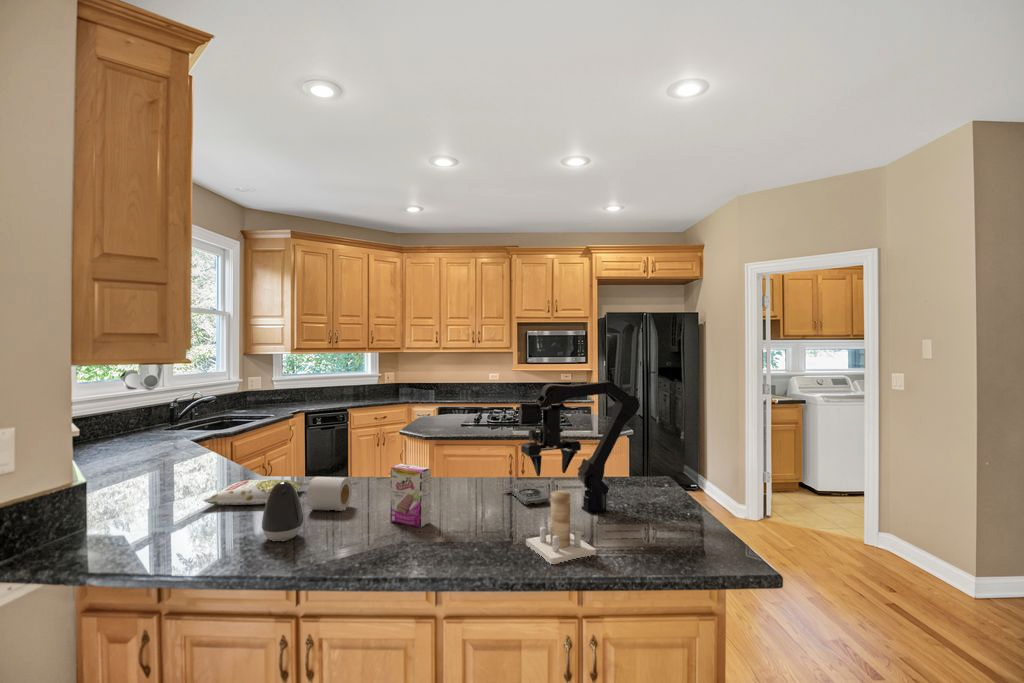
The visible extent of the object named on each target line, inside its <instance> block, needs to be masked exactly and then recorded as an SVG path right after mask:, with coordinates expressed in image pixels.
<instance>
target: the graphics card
mask: <svg viewBox="0 0 1024 683" xmlns="http://www.w3.org/2000/svg"><path fill="white" fill-rule="evenodd" d="M534 484H535V483H534V482H522V483H516V484H515V483H514V484H506V485H504V486H502V490H504V491H502V495H505V494H504V493H513V495H514V496H516V497H515V498H516V499H518V501H520V502H521V503H522V504H523V503H525V504H524V505H531V504H530V503H535V504H542V503H541V502H550V497H549V496H548V495H547V494H545V493H544V492H543V491H541V489H540V488H538V487H537V486H535V485H534ZM507 487H508V488H507Z"/></svg>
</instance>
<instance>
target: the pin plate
mask: <svg viewBox="0 0 1024 683" xmlns="http://www.w3.org/2000/svg"><path fill="white" fill-rule="evenodd" d="M581 537H582V533H581V531H574V534H573V533H571V532H570V546H568V547H566V548H559V536H553V546H552V545H551V533H550V534H547V527H545V526H540V527H539V536H536V537H535V536H534V537H529V538H525V545H526V546H527V547H528V548H529V547H530V548H529V549H530V550H532V551H533V550H534V551H535V552H534V551H533V552H534V553H535V554H537V553H538V554H539V555H540V556H539V555H538V554H537V555H538V556H539V557H541V556H542V557H543V558H544V559H545V562H547V563H548V562H549V563H550V565H551V564H553V565H556V564H560V562H562V563H565V562H564V561H566V562H569V561H568V560H571V559H576V558H580V557H585V556H586V557H585V558H588V557H587V556H589V557H592V556H591V555H594V556H596V555H597V552H596V550H597V549H596V548H595V547H593V546H592V545H590V544H588V543H587V542H586V541H584V540H582V539H581ZM542 557H541V558H542ZM543 558H542V559H543ZM544 559H543V560H544ZM580 559H581V558H580ZM576 560H577V559H576ZM571 561H572V560H571ZM549 563H548V564H549Z"/></svg>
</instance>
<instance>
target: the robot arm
mask: <svg viewBox="0 0 1024 683" xmlns="http://www.w3.org/2000/svg"><path fill="white" fill-rule="evenodd" d="M598 395H606V396H607V397H608V399H610V400H611V401H612V402H613V403H614V404H613V406H612V414H611V419H610V421H609V422H608V424H607V426H606V429H605V430H604V432H603V435H602V436H601V438H600V440H599V442H598V444H597V446H596V448H595V450H594V452H593V454H592V455H591V456H590V458H588V459H586V458H583V459H582V461H581V465H580V466H579V467H578V468H577V470H578V472H577V477H578V480H579V481H580V483H581V484H582V485H583V487H584V488H585V489H586V490H584V495H583V506H581V509H582V510H584V511H585V512H587V513H589V514H591V515H596V514H597V515H598V514H602V513H604V514H605V513H609V512H610V509H609V508H607V495H608V492H609V490H610V488H609V486H608V485H607V484H606V483H605V482H604V481H603V479H604V476H605V468H606V463H607V461H608V459H609V457H610V455H611V454H612V451H613V449H614V448H615V445H616V443H617V441H618V440H619V438H620V435H621V433H622V431H623V430H624V427H625V425H626V424H627V423H628V422H629V421H630V420H631V419H633V417H634V416H635V415H636V414H637V412H638V411H639V410H640V406H641V403H640V401H639V399H638V398H637V397H636V396H635V395H631V394H628V392H626V391H624V389H621V387H619V386H618V385H617V384H616V383H614V382H613V381H611V380H602V381H598V382H597V381H596V382H587V383H578V384H569V385H568V384H558V383H546V384H545V385H544V386H543V387H542V389H541V392H540V395H539V396H538V398H537V399H536V400H535V401H534V403H532V402H531V403H527V402H520V403H519V408H518V413H517V418H518V419H517V421H518V425H519V426H538V425H539V424H540V423H541V424H542V425H541V426H540V428H539V431H536V430H535V429H534V430H532V429H530V430H528V440H529V441H530V442H524V443H522V445H521V447H520V452H521V453H522V454H524V455H526V456H528V457H529V459H530V460H531V462H532V465H533V467H534V470H535V474H536V476H537V477H540V475H541V473H542V472H541V469H542V456H543V455H542V454H541V453H542V452H543V451H551V450H552V451H553V450H560V452H561V473H562V474H566V472H567V470H568V467H569V465H570V464H571V462H572V460H573V458H574V457H575V455H576V454H578V451H581V449H582V444H581V442H580V441H579V440H576V439H574V438H566V439H561V435H562V434H561V433H564V429H563V428H562V426H561V425H562V424H561V420H562V411H568V407H567V406H566V405H565V404H564V402H566V401H568V400H571V399H574V398H580V397H588V396H598Z"/></svg>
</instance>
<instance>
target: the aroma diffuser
mask: <svg viewBox="0 0 1024 683" xmlns="http://www.w3.org/2000/svg"><path fill="white" fill-rule="evenodd" d="M303 524H304V514H303V509H302V503H301V501H300V496H299V494H298V492H297V490H295V488H294V486H293V485H292V484H291V483H289V482H285V481H283V482H279V483H277V484H276V485H275V486H274V487H273V488H272V490H271V492H270V494H269V496H268V499H267V502H266V504H264V509H263V514H262V519H261V529H262V531H263V534H264V536H265V538H266V539H268V540H269V541H271V540H272V542H275V541H282V540H287V541H289V540H288V539H290V540H292V539H293V538H295V537H296V536H297V535H298V534H299V533H300V531H301V529H302V526H303ZM291 538H292V539H291ZM282 542H283V541H282Z"/></svg>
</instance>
